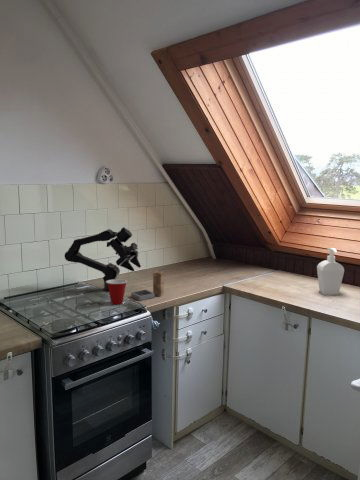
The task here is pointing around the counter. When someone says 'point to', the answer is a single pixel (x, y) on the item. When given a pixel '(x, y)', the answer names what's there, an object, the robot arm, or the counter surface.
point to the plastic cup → (116, 290)
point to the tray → (142, 295)
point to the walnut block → (158, 283)
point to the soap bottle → (330, 275)
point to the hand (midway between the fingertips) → (137, 269)
